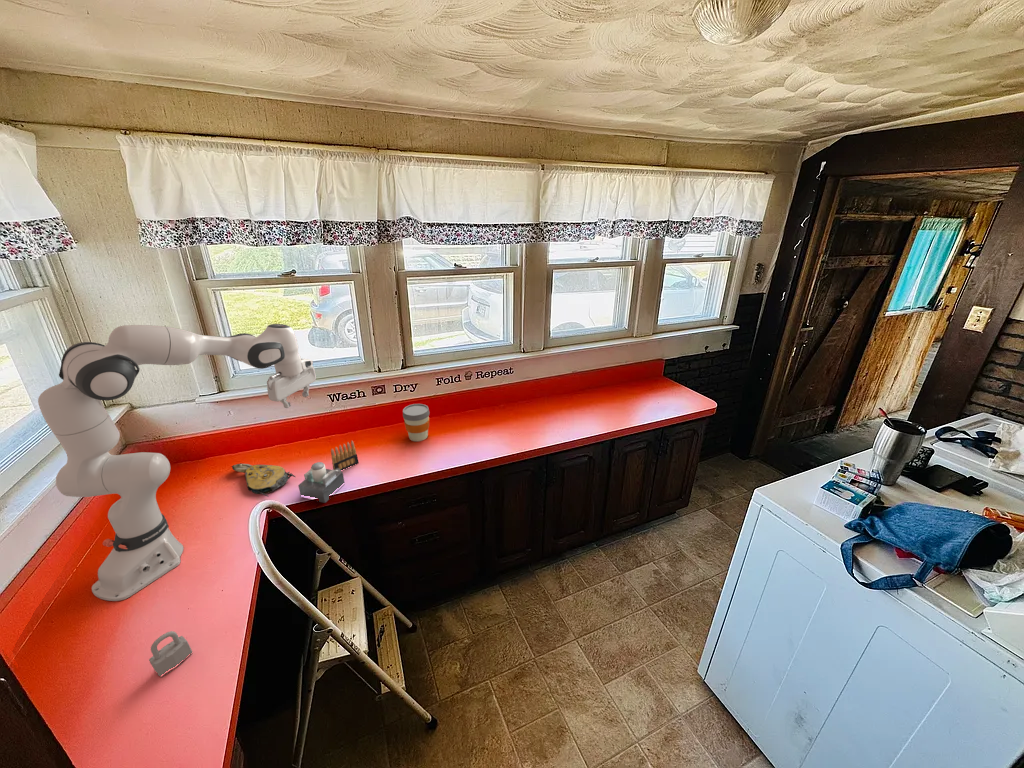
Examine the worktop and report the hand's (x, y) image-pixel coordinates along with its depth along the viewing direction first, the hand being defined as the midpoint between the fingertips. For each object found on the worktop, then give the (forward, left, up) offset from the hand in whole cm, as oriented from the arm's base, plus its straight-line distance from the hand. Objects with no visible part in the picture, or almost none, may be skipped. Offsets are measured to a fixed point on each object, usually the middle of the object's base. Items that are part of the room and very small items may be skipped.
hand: (297, 401), depth 155 cm
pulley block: (-5, +23, -38) cm, 44 cm away
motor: (-2, -7, -37) cm, 38 cm away
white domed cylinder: (-4, -7, -31) cm, 32 cm away
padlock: (-71, -16, -37) cm, 82 cm away
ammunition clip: (+12, -6, -38) cm, 40 cm away
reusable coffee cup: (+44, -24, -37) cm, 62 cm away
